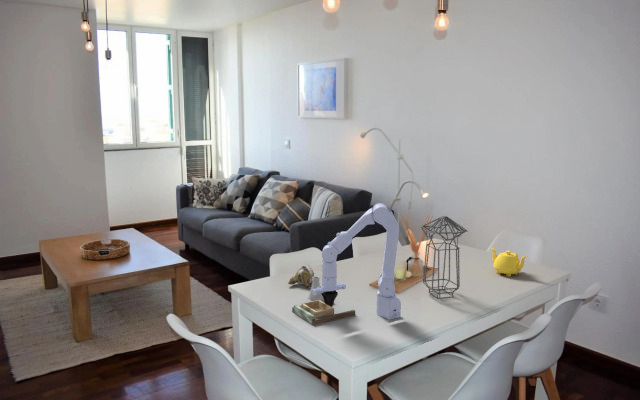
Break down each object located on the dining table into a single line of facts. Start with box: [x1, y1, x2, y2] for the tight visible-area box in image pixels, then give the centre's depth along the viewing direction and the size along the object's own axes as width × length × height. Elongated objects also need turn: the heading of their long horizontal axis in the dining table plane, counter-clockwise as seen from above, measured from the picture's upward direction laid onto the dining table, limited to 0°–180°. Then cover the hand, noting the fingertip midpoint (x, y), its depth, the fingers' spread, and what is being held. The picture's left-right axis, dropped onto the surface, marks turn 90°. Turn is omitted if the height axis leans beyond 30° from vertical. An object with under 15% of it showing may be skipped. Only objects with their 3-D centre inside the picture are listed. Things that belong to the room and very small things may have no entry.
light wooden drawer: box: [301, 300, 335, 319], centre depth 208 cm, size 11×8×4 cm
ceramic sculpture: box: [287, 264, 315, 287], centre depth 247 cm, size 11×9×15 cm
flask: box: [307, 275, 324, 301], centre depth 225 cm, size 7×7×10 cm
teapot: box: [490, 247, 528, 278], centre depth 264 cm, size 20×15×12 cm
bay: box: [291, 299, 356, 326], centre depth 209 cm, size 16×19×4 cm
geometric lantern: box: [420, 215, 469, 299], centre depth 231 cm, size 16×16×35 cm
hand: (329, 309), depth 211 cm, fingers closed
